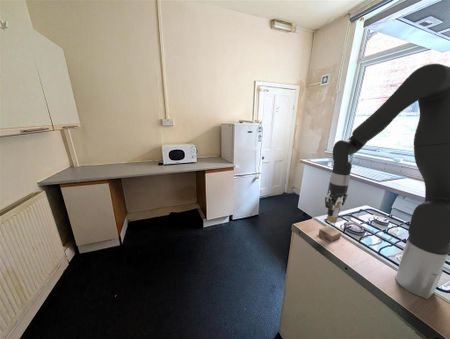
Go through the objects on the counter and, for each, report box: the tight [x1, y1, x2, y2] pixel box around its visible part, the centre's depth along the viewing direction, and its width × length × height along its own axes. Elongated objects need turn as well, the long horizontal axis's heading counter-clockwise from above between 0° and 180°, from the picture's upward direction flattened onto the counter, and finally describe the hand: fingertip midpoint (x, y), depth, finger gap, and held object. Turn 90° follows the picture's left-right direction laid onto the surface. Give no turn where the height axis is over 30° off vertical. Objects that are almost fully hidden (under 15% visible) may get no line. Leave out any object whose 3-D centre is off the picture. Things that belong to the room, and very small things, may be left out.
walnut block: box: [318, 225, 342, 242], centre depth 92 cm, size 7×7×3 cm
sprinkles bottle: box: [326, 198, 341, 224], centre depth 88 cm, size 5×5×14 cm
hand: (333, 214), depth 89 cm, fingers closed on sprinkles bottle, 4 cm apart
